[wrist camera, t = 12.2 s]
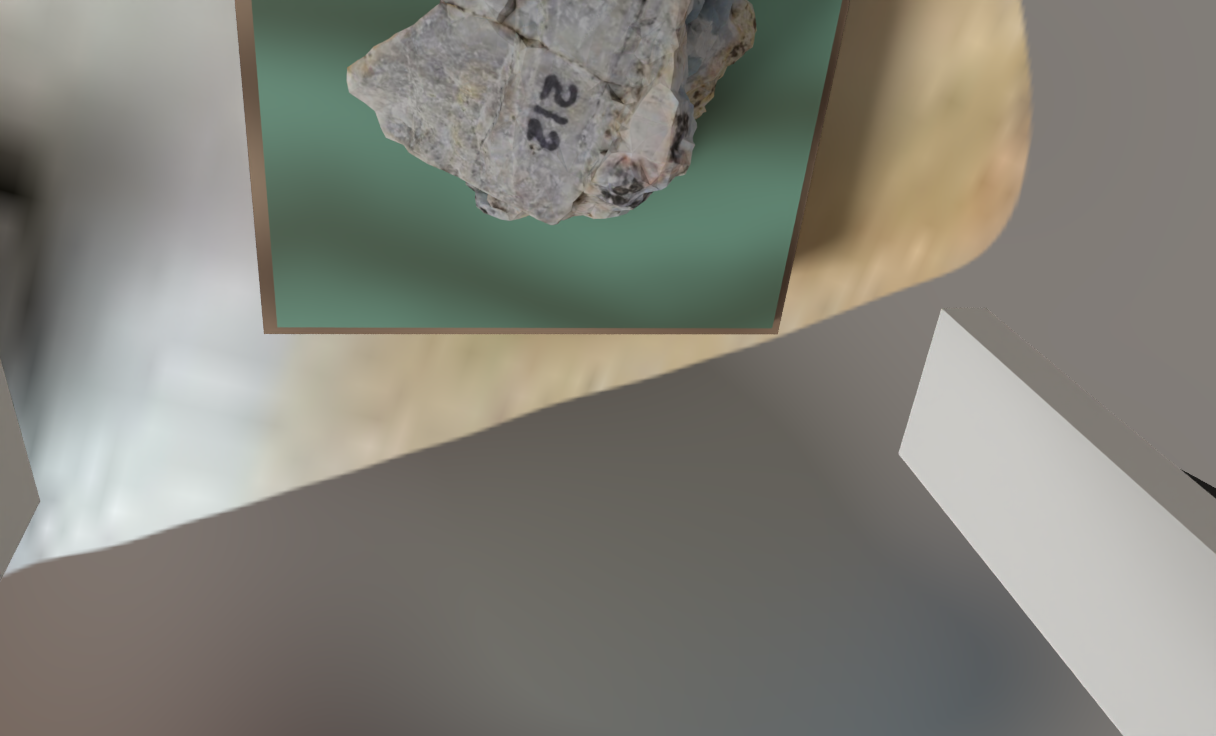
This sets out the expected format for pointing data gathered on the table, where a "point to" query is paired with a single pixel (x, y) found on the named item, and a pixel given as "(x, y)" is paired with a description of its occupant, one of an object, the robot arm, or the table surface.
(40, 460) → the table surface
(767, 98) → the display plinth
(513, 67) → the mineral specimen
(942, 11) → the table surface
